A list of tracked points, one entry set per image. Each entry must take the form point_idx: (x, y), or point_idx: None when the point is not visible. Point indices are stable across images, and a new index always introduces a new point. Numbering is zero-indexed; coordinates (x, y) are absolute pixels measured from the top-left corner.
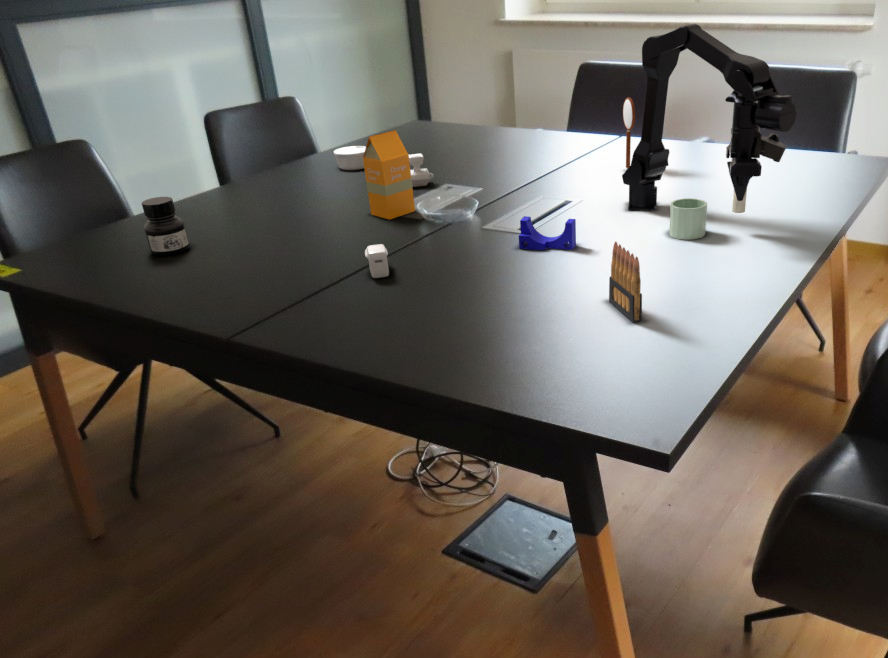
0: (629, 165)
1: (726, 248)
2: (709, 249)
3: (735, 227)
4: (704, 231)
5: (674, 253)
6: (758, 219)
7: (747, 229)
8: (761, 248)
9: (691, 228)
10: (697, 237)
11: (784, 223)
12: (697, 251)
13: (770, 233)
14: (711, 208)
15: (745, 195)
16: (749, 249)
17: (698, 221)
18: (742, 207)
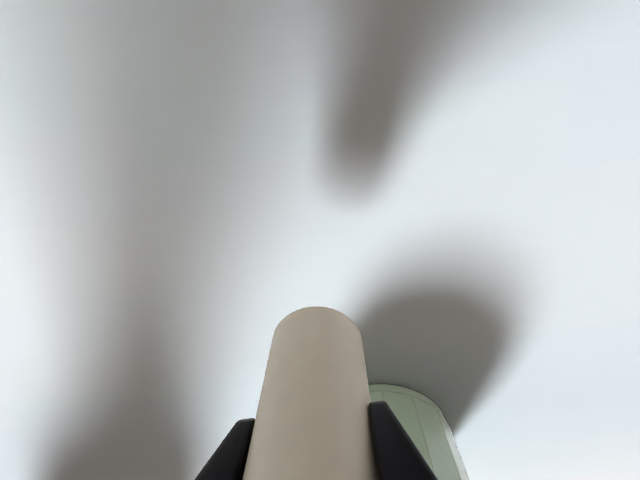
0: None
1: (562, 283)
2: (571, 344)
3: (239, 283)
4: (395, 400)
5: (609, 442)
6: (60, 188)
7: (254, 225)
8: (575, 112)
9: (463, 465)
10: (433, 405)
11: (62, 13)
12: (594, 380)
13: (293, 88)
14: (5, 403)
15: (342, 418)
16: (587, 176)
17: (460, 477)
18: (354, 346)
